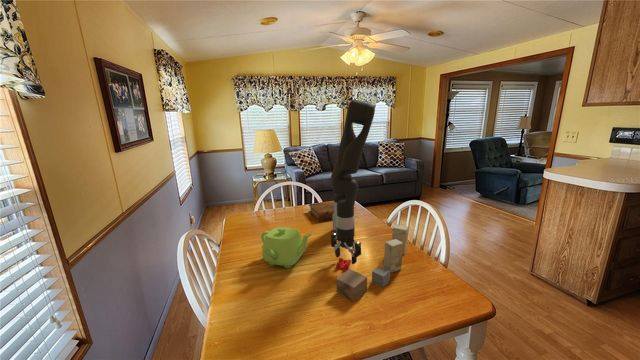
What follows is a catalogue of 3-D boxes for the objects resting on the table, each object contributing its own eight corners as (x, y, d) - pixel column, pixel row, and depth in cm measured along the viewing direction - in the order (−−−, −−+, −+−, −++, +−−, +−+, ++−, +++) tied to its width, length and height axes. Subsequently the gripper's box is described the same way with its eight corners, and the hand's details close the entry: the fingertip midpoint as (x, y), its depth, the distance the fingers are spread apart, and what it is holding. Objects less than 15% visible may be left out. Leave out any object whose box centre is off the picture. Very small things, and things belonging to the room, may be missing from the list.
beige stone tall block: (391, 251, 126) (392, 227, 123) (393, 247, 130) (394, 223, 127) (404, 254, 123) (406, 230, 120) (406, 250, 127) (408, 226, 124)
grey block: (371, 282, 105) (372, 271, 103) (378, 276, 108) (379, 265, 107) (383, 288, 101) (383, 276, 100) (389, 281, 105) (390, 270, 103)
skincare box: (390, 273, 110) (391, 246, 106) (383, 268, 113) (384, 241, 110) (402, 269, 112) (403, 242, 109) (394, 263, 116) (396, 238, 113)
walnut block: (336, 292, 100) (336, 278, 98) (349, 282, 105) (349, 268, 104) (354, 302, 94) (354, 287, 93) (366, 291, 100) (367, 277, 98)
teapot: (245, 273, 113) (242, 238, 109) (271, 248, 132) (269, 218, 128) (300, 284, 104) (298, 248, 100) (319, 256, 124) (318, 224, 120)
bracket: (348, 270, 113) (348, 264, 112) (337, 269, 114) (337, 262, 113) (351, 262, 119) (351, 256, 118) (340, 261, 120) (340, 255, 119)
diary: (318, 223, 161) (318, 214, 160) (309, 212, 178) (308, 204, 177) (353, 216, 169) (353, 208, 167) (340, 207, 186) (340, 199, 184)
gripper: (326, 223, 114) (327, 258, 118) (354, 233, 104) (354, 270, 108) (337, 218, 119) (338, 251, 123) (365, 226, 110) (364, 262, 114)
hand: (345, 260), depth 116 cm, fingers open, 8 cm apart
